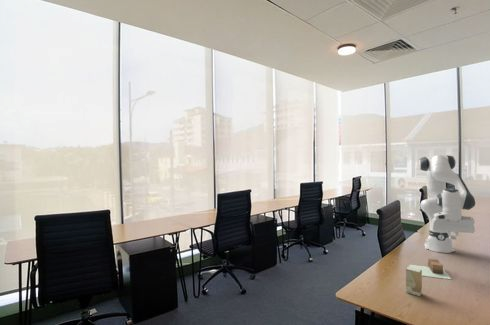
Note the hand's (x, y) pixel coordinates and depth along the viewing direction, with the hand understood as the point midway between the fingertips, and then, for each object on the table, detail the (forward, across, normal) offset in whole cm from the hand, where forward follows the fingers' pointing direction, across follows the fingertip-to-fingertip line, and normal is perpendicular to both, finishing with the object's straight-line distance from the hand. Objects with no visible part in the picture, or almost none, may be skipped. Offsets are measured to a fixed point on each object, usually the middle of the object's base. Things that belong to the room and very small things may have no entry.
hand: (452, 239), depth 155 cm
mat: (+20, +13, +3) cm, 24 cm away
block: (+17, +9, -6) cm, 20 cm away
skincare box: (+21, +26, +36) cm, 49 cm away
